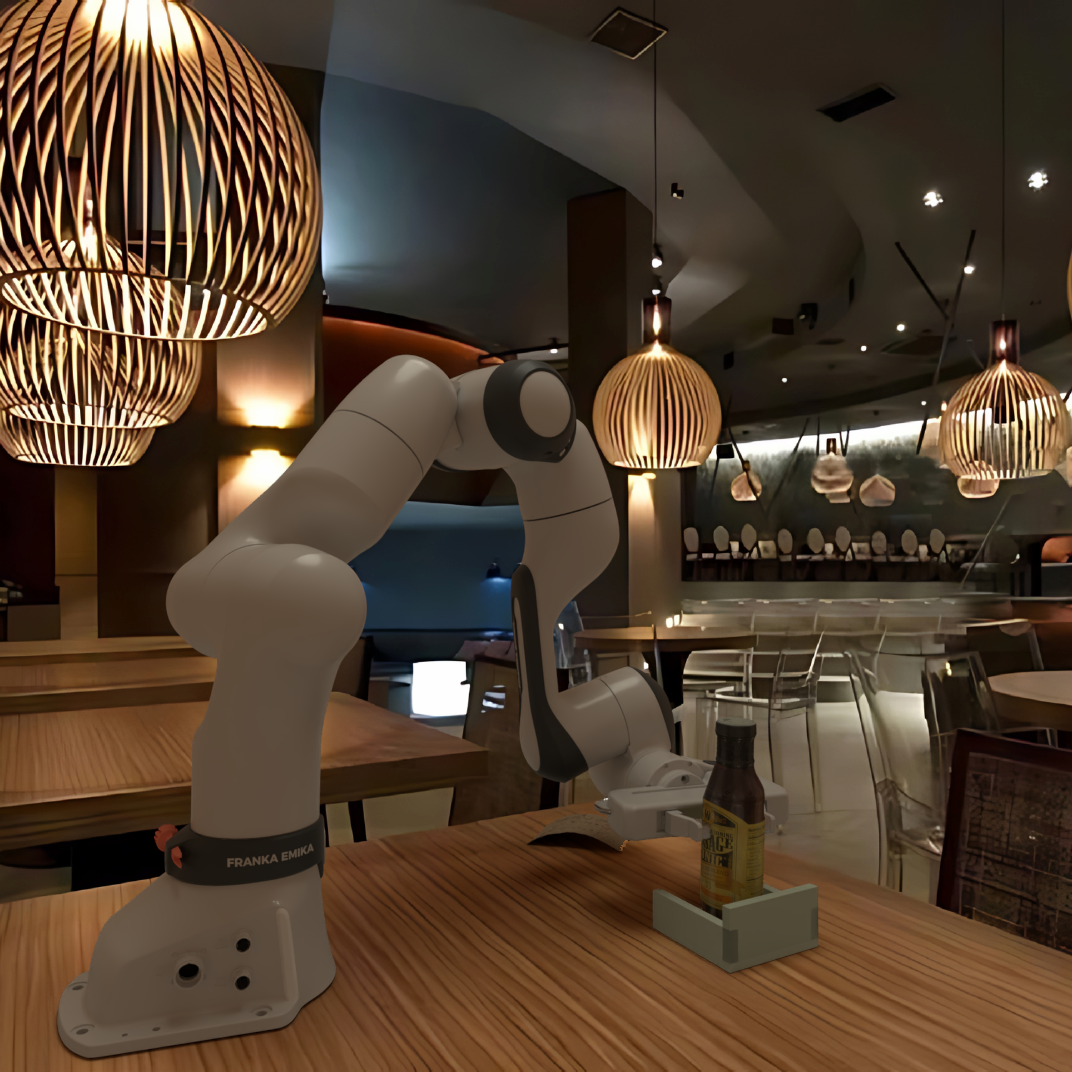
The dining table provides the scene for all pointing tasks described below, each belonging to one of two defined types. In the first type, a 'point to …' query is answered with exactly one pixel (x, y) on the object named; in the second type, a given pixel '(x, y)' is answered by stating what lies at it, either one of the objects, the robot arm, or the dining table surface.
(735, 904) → the caddy
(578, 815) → the grey curved piece
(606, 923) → the dining table surface
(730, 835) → the sauce bottle
